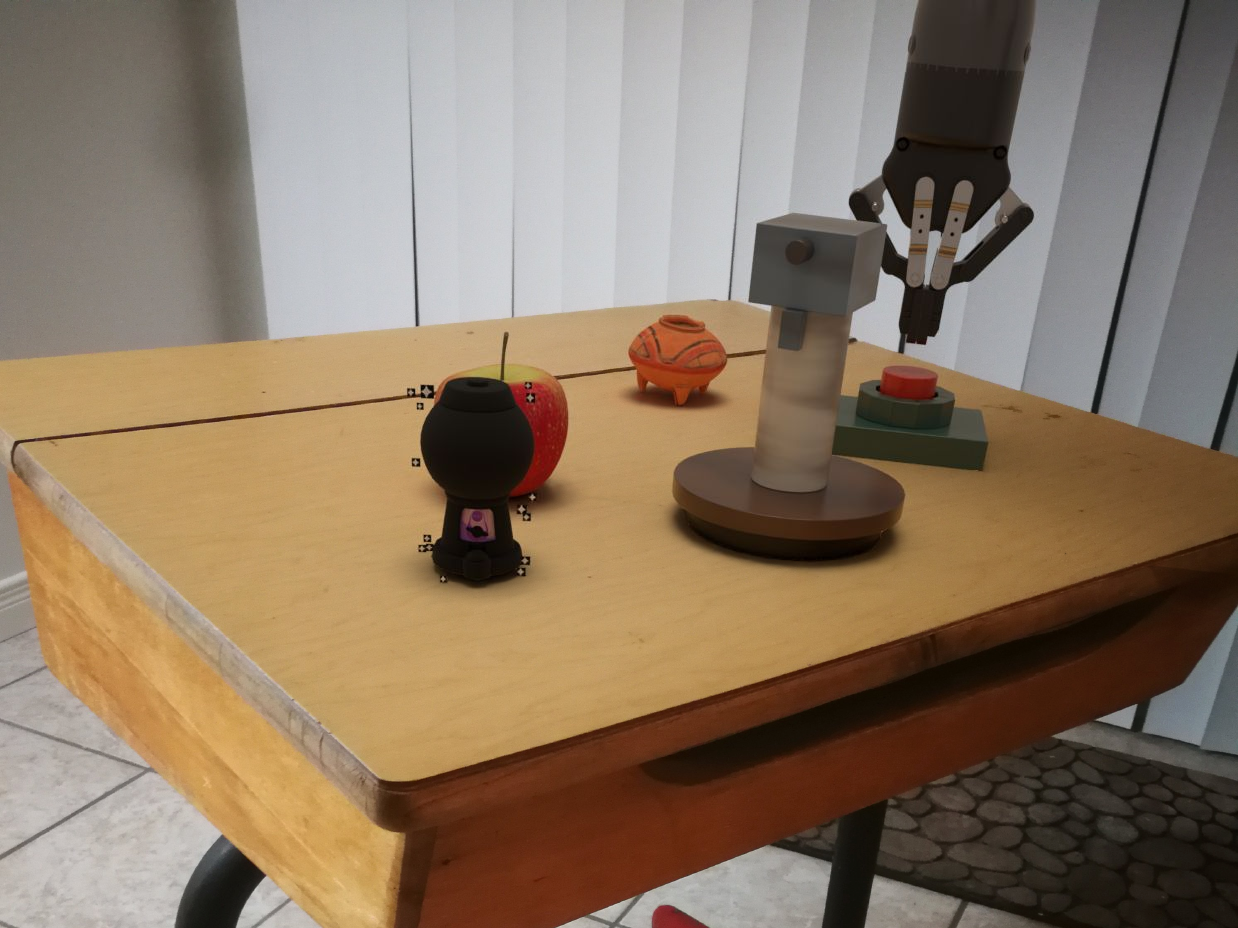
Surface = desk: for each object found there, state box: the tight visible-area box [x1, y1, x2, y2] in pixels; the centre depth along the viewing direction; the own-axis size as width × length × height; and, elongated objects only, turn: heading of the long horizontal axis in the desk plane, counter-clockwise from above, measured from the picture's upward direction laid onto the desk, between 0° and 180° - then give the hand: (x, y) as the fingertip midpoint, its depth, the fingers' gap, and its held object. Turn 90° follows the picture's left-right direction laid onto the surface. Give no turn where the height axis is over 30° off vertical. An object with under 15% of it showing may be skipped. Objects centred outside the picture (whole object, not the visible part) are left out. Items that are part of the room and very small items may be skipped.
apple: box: [433, 331, 569, 498], centre depth 78 cm, size 8×8×10 cm
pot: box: [627, 314, 728, 406], centre depth 102 cm, size 8×8×7 cm
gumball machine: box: [406, 377, 538, 584], centre depth 67 cm, size 7×6×10 cm
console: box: [832, 379, 989, 472], centre depth 94 cm, size 12×9×4 cm
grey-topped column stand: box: [671, 212, 906, 540], centre depth 73 cm, size 14×14×15 cm
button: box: [879, 365, 939, 400], centre depth 93 cm, size 4×4×2 cm
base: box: [685, 511, 883, 562], centre depth 78 cm, size 12×12×1 cm
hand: (915, 341), depth 91 cm, fingers closed
